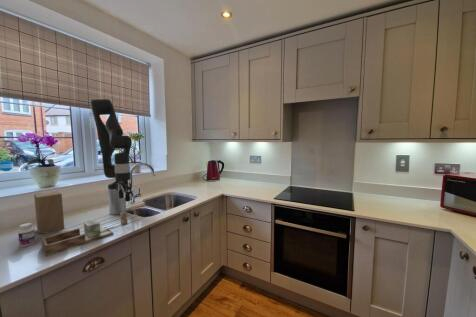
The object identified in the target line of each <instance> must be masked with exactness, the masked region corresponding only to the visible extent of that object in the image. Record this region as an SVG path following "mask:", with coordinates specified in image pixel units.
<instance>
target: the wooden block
mask: <svg viewBox="0 0 476 317" xmlns="http://www.w3.org/2000/svg"><path fill="white" fill-rule="evenodd" d="M33 197H34V206H35V207H34V208H35V210H34V211H35V218H36V220H35V221H36V228H37V231H38V233H39V234H40V235H43V234H47V233H51V232H53V231H54V232H55V231H58V230H62V229H65V222H64V221H65V217H64V210H63V209H64V206H63V194H62V193H61V192H60V191H59V190H55V191H48V192H40V193H34V195H33Z"/></svg>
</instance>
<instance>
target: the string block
mask: <svg viewBox="0 0 476 317" xmlns="http://www.w3.org/2000/svg"><path fill="white" fill-rule="evenodd" d="M127 213H128V212H127V211H126V212H121V213H120V214H119V215H120V224H118V225H114V226H111V227H107V229H103V230H100V229H101V223H100V222H99V221H98V220H96V219H92V220H88V221H85V222H83V228H84V233H85V235H86V236H87V237H88V238H90V237H93V236H97V235H100V232H103V231H106V230H112V229H115V228H118V227H124V226H127V225H128V214H127Z"/></svg>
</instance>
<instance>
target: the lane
mask: <svg viewBox="0 0 476 317" xmlns="http://www.w3.org/2000/svg"><path fill="white" fill-rule="evenodd" d="M107 228H108V227H107V226H105V227H100V230H103V229H107ZM113 235H114V232H113V231H112V229H109V230H106V231H103V232H100V235H97V236H93V237H90V238H88V237H87V236H86V235H85V232H83V233H81V230H80V228H79V227H78V228H75V229H70V230H67V231H63V232H58V233H55V234H51V235H48V236H44V237H41V238H40V239H41V248H42V251H43V253H44V255H45V257H48V256H52V255H55V254H58V253H60V251H61V252H64V251H66V250H70V249H73V248H76V247H79V246H82V245H86V244H89V243H92V242H95V241H98V240H101V239H104V238H108V237H110V236H113ZM57 252H58V253H57ZM54 253H55V254H54Z"/></svg>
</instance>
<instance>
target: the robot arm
mask: <svg viewBox="0 0 476 317" xmlns="http://www.w3.org/2000/svg"><path fill="white" fill-rule="evenodd" d="M89 104H90V109H91V112H92V115H93V116H92V117H93V119H94V123H95V127H96V133H97V138H98V143H99V144H98V145H99V147H100V152H101V158H102V166H103V173H104V175H105V177H106V178H108V179H115V181H113V182H110V183H109V184H108V185H107V193H108V194H107V195H108V208H109V214H110V215H120V213H121V212H127V202H130V201H131V194H132V192H133V190H132V183H131V182H129V181H130V180H131V179H132V178H131V177H132V176H131V165H130V153H131V149H132V148H131V147H132V143H133V141H132V138H131V137H130V136H129V135H124V131H123V129H122V126H121V125H120V123H119V121H118V117H117V113H116V111H115V108H114V105H113V103H112V101H111V100H110V99H106V98H103V99H102V98H101V99H100V98H99V99H98V98H97V99H95V98H94V99H90V103H89ZM104 115H105V116H106V115H109V116H108V118H107V119H106V121H105V123H104V122H103V120H102V118H101V116H104ZM116 149H122V151H119V152H117V153H115V154H114V152H115V150H116ZM113 154H114V163H112V156H113Z"/></svg>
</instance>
